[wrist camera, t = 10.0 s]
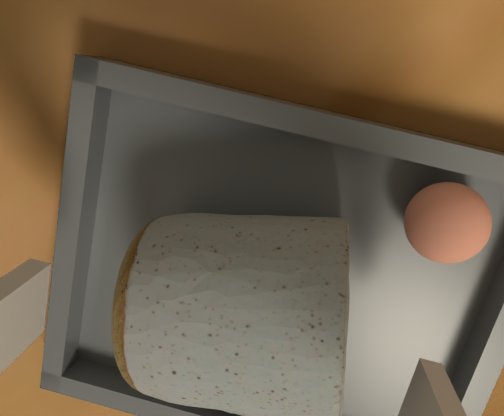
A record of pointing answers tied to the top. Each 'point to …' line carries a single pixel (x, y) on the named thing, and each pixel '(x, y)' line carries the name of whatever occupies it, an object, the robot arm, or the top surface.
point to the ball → (447, 222)
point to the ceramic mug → (236, 313)
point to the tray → (268, 203)
